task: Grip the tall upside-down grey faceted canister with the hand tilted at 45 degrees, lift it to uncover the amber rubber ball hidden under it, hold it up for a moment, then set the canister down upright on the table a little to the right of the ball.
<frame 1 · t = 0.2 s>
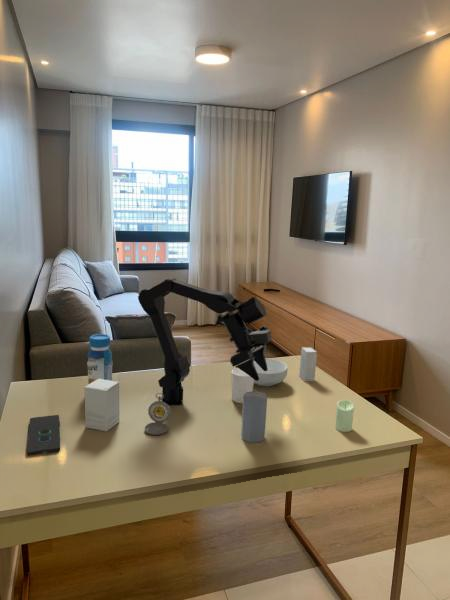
hand: (262, 375, 138), 15 cm above the table, tool tilted 35°, fingers open, 9 cm apart
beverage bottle: (100, 392, 156), on the table
supplement box: (102, 425, 133), on the table
grey faceted canister: (252, 436, 130), on the table
candle: (343, 428, 138), on the table
white cup: (241, 400, 156), on the table
amber ball: (253, 431, 130), in the grey faceted canister
pocket watch: (157, 429, 132), on the table
skincare box: (306, 379, 178), on the table
smart home device: (44, 437, 126), on the table
cereal bowl: (264, 383, 172), on the table
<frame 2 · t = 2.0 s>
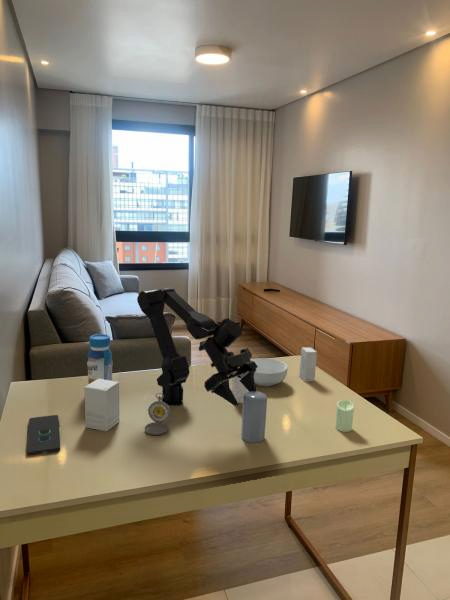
hand: (246, 400, 130), 10 cm above the table, tool tilted 45°, fingers open, 9 cm apart
nothing on the table moved.
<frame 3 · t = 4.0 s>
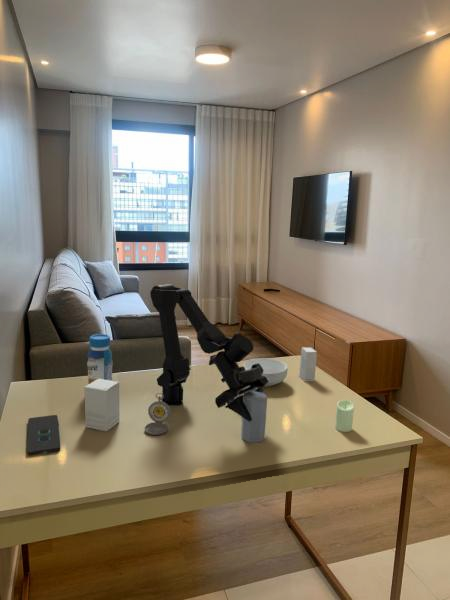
hand: (257, 417, 128), 7 cm above the table, tool tilted 45°, fingers closed on grey faceted canister, 6 cm apart
grey faceted canister: (252, 436, 130), on the table, touching gripper
everything else where it was.
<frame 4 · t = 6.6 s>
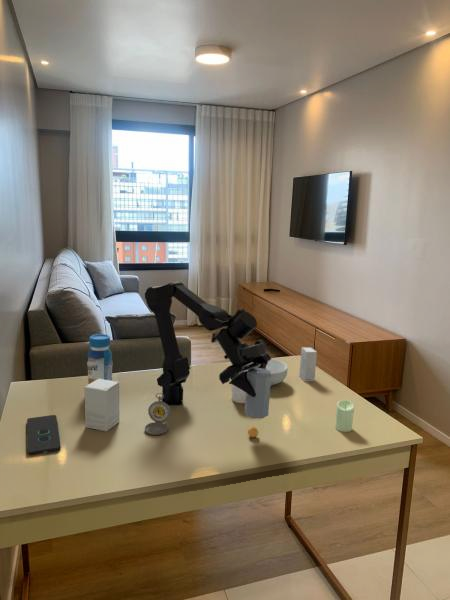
hand: (261, 393, 128), 13 cm above the table, tool tilted 45°, fingers closed on grey faceted canister, 6 cm apart
grey faceted canister: (256, 413, 130), point 7 cm above the table, touching gripper
everything else where it was.
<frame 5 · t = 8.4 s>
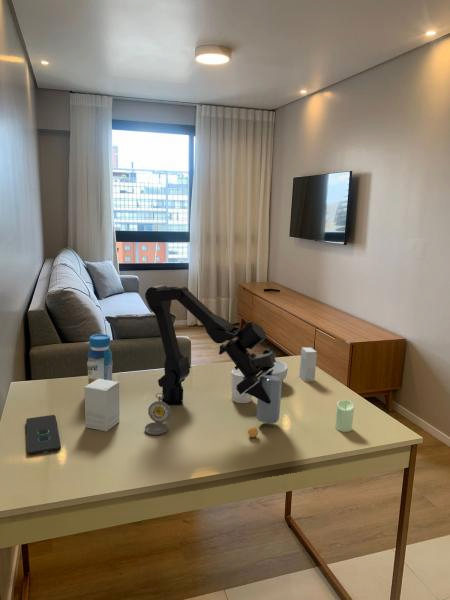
hand: (273, 398, 136), 9 cm above the table, tool tilted 45°, fingers closed on grey faceted canister, 6 cm apart
grey faceted canister: (267, 418, 138), point 2 cm above the table, touching gripper
everything else where it was.
when the fingers open (8 cm above the table, at t = 9.5 s): grey faceted canister drops 1 cm, on the table.
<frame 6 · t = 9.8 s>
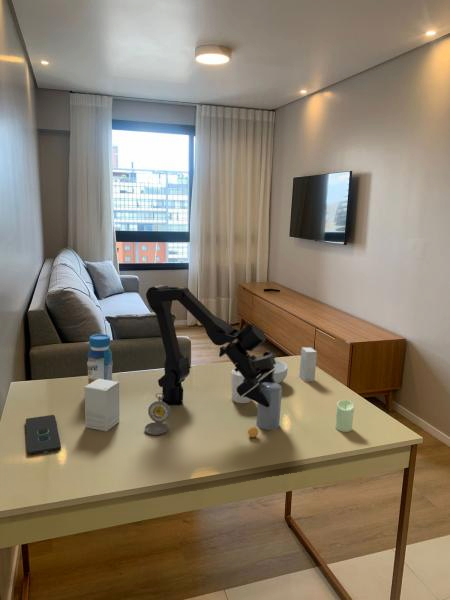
hand: (273, 400, 136), 8 cm above the table, tool tilted 45°, fingers open, 9 cm apart
grey faceted canister: (267, 424, 138), on the table
everything else where it was.
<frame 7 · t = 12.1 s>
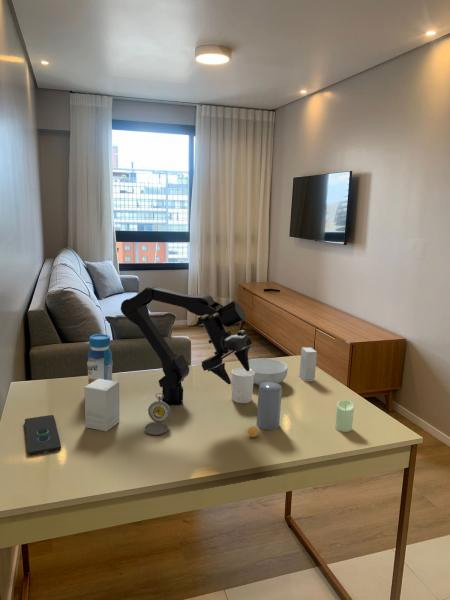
hand: (239, 377, 142), 12 cm above the table, tool tilted 30°, fingers open, 9 cm apart
nothing on the table moved.
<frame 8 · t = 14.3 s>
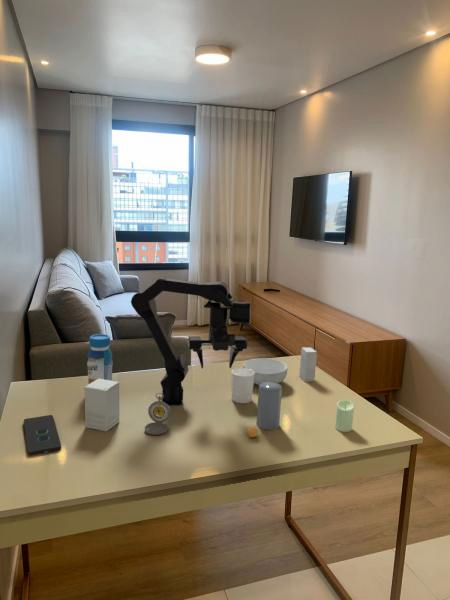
hand: (216, 367, 148), 13 cm above the table, tool pointing down, fingers open, 9 cm apart
nothing on the table moved.
at the end: grey faceted canister inside the target area (0.3 cm from its centre), on the table; grey faceted canister tilted 0°; the gripper is holding nothing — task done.
